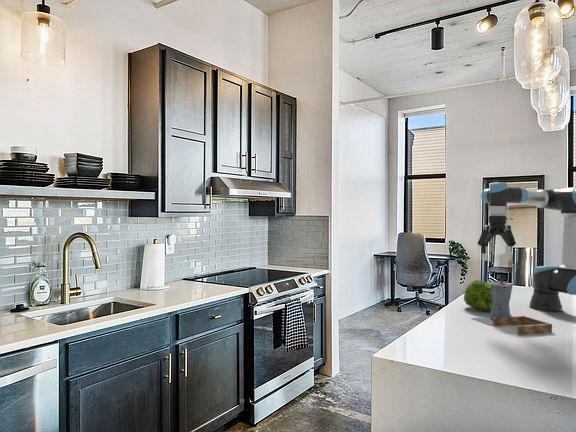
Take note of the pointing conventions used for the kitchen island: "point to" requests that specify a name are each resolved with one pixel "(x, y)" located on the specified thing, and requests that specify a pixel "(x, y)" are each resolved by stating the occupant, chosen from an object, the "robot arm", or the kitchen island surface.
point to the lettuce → (479, 295)
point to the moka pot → (500, 299)
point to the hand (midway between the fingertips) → (496, 260)
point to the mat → (484, 320)
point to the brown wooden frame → (529, 328)
